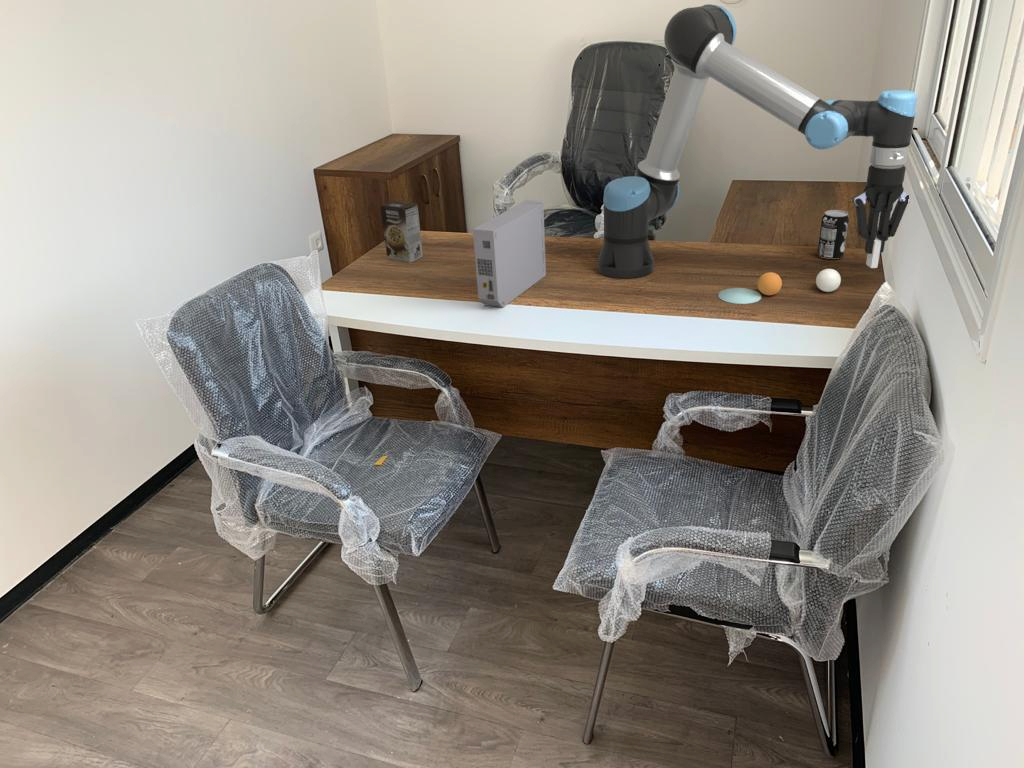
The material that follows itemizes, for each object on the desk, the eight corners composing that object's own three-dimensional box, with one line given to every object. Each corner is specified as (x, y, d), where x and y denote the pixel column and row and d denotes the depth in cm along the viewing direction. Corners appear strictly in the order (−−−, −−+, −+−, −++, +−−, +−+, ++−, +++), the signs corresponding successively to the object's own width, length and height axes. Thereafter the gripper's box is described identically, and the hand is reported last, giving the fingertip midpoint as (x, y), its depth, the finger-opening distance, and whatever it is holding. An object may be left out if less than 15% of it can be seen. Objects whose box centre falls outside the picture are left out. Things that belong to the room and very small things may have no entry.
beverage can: (839, 252, 207) (845, 209, 201) (846, 260, 201) (853, 215, 195) (814, 253, 207) (819, 209, 202) (820, 261, 202) (826, 216, 196)
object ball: (760, 299, 181) (762, 277, 178) (753, 291, 186) (755, 269, 183) (783, 298, 181) (786, 276, 178) (776, 289, 186) (778, 268, 183)
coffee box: (386, 259, 224) (378, 205, 216) (400, 253, 229) (393, 199, 221) (410, 263, 219) (403, 208, 212) (424, 256, 224) (417, 202, 217)
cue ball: (819, 295, 181) (822, 274, 178) (811, 287, 185) (814, 266, 183) (842, 294, 180) (846, 272, 178) (833, 286, 185) (836, 264, 183)
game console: (548, 274, 205) (545, 201, 195) (499, 311, 184) (494, 231, 174) (529, 272, 207) (525, 199, 198) (479, 308, 186) (472, 229, 177)
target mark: (724, 305, 179) (724, 304, 179) (713, 290, 188) (713, 289, 188) (766, 302, 179) (766, 301, 179) (754, 287, 188) (754, 286, 187)
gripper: (865, 170, 166) (850, 273, 177) (925, 166, 166) (906, 269, 176) (851, 163, 172) (837, 262, 183) (908, 159, 172) (891, 259, 183)
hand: (871, 265), depth 180 cm, fingers closed
